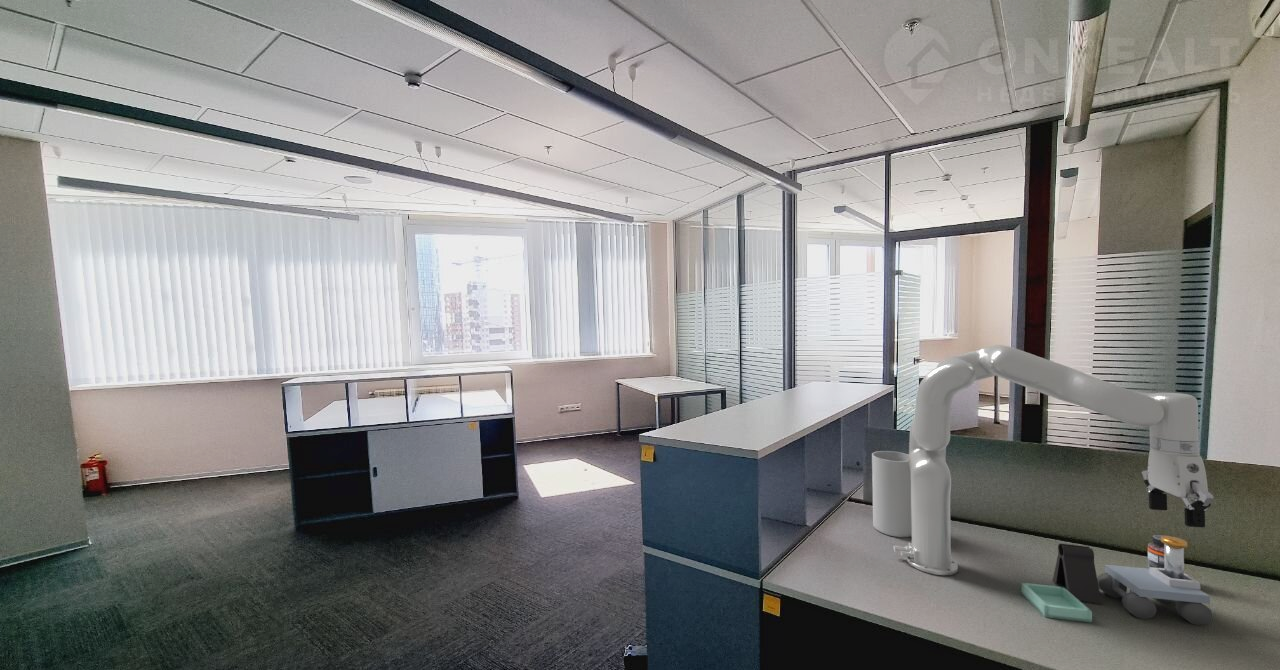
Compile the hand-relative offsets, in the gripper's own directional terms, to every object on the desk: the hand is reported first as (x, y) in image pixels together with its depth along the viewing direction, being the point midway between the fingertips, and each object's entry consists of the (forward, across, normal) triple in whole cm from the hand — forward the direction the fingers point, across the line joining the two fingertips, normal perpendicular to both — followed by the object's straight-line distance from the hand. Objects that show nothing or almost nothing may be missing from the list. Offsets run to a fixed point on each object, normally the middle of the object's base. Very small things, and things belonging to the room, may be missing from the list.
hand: (1175, 517), depth 107 cm
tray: (+22, -4, +27) cm, 35 cm away
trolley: (+22, 0, +5) cm, 23 cm away
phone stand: (+22, +4, +18) cm, 29 cm away
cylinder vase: (+22, +33, +52) cm, 65 cm away
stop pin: (+15, 0, 0) cm, 15 cm away
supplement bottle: (+23, +15, -8) cm, 28 cm away
